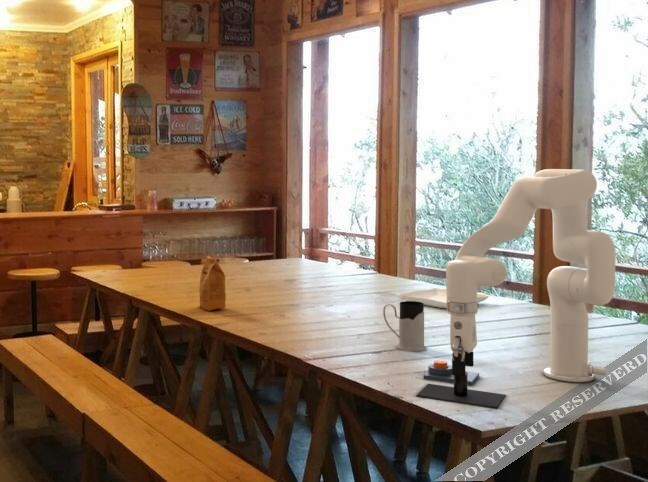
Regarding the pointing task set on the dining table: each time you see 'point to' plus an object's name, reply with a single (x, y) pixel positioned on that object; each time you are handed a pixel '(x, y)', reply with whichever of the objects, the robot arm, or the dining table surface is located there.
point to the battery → (461, 385)
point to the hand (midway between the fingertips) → (463, 370)
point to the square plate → (432, 297)
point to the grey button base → (447, 375)
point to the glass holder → (410, 325)
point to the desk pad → (472, 398)
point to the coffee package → (212, 285)
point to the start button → (440, 364)
